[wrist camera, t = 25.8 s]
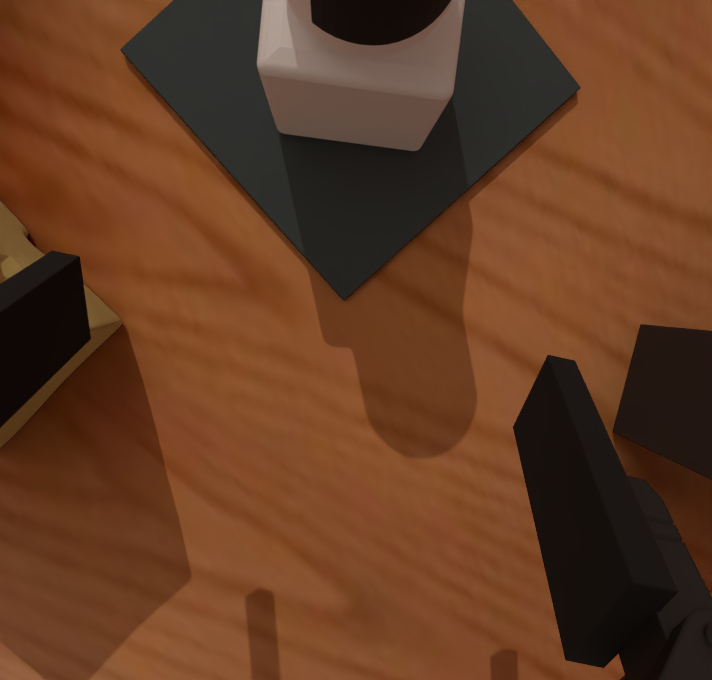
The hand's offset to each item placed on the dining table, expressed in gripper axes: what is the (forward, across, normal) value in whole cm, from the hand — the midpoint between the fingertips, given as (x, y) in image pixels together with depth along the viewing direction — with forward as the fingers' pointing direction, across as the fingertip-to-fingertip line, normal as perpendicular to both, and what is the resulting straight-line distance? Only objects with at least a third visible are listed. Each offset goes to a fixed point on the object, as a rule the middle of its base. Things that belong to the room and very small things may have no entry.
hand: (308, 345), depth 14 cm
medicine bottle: (+16, -1, +5) cm, 17 cm away
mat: (+16, -1, +5) cm, 17 cm away
